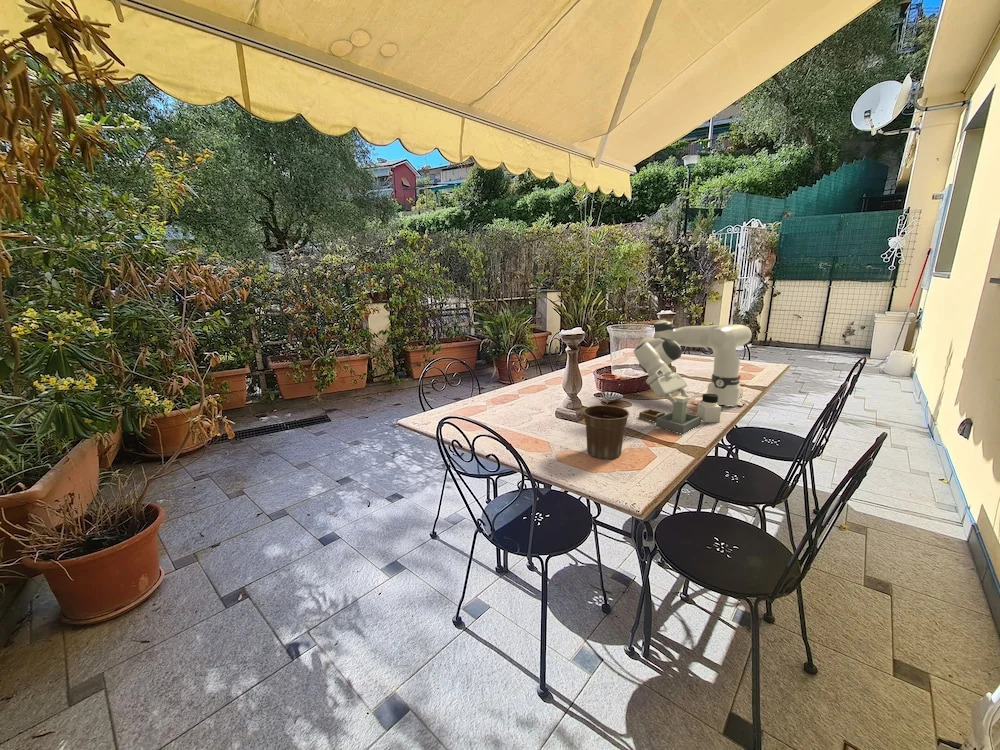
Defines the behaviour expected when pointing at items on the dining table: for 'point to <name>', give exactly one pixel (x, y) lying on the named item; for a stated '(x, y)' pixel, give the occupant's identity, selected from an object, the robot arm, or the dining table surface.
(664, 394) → the robot arm
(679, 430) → the tray
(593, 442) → the plant pot
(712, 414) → the medicine bottle
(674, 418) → the green rectangular block
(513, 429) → the dining table surface
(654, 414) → the tray
